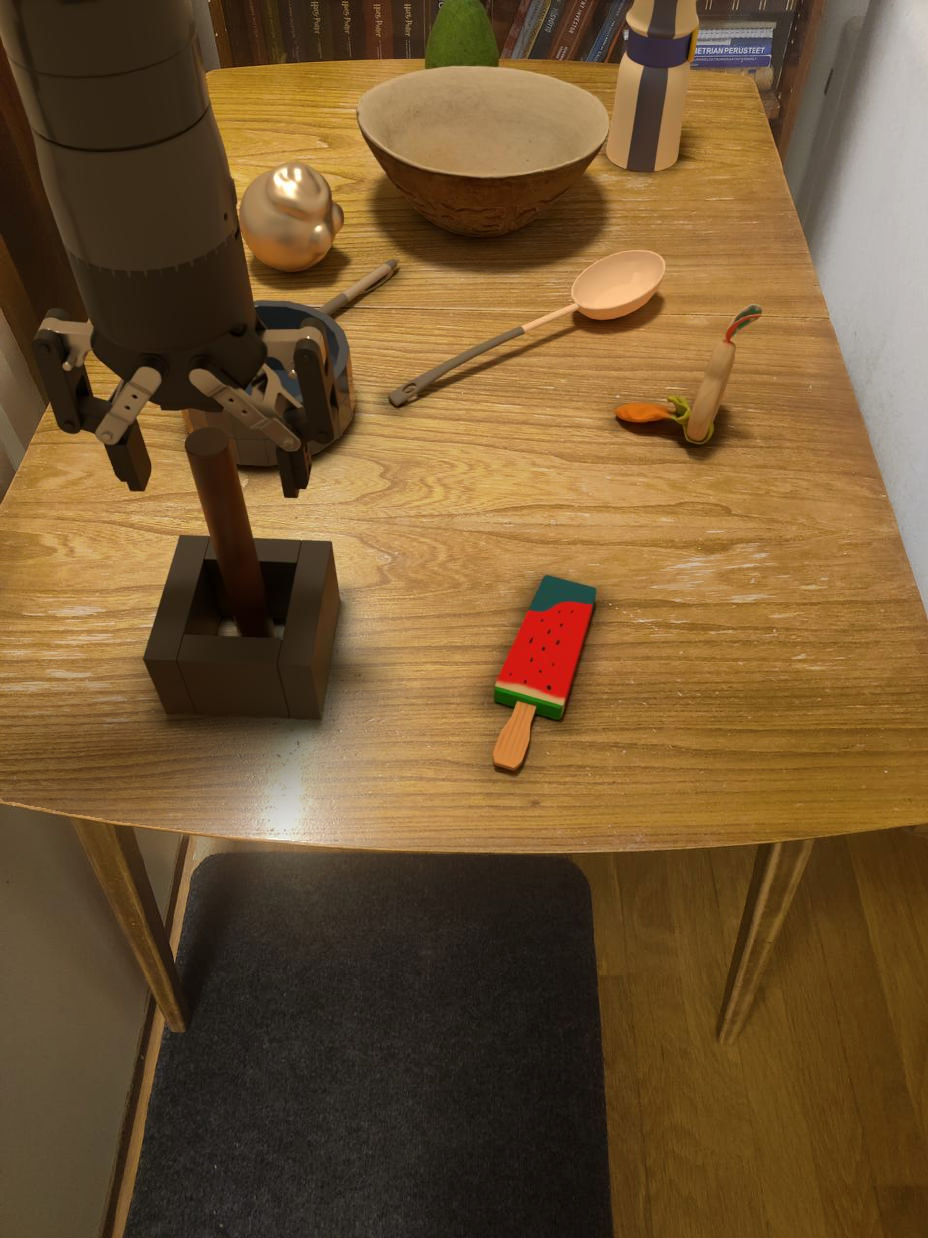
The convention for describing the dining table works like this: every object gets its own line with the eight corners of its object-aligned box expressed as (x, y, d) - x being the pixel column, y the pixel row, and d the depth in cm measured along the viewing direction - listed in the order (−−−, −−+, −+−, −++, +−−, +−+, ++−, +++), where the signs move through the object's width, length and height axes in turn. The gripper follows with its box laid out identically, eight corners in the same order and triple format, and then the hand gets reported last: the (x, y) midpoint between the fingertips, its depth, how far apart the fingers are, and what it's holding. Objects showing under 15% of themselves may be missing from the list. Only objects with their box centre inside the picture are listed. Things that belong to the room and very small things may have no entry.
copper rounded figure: (277, 305, 91) (260, 201, 83) (231, 255, 95) (211, 152, 87) (363, 274, 94) (355, 170, 86) (315, 227, 98) (303, 125, 91)
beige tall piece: (659, 376, 85) (684, 254, 76) (743, 418, 82) (779, 296, 73) (608, 420, 81) (627, 298, 72) (694, 466, 78) (725, 345, 69)
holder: (165, 713, 64) (142, 659, 59) (198, 592, 70) (179, 534, 65) (321, 720, 64) (310, 666, 59) (340, 598, 70) (332, 540, 65)
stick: (238, 655, 67) (179, 455, 53) (245, 626, 68) (189, 425, 54) (274, 657, 67) (225, 457, 53) (279, 628, 68) (233, 426, 54)
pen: (402, 270, 94) (401, 256, 93) (301, 343, 87) (299, 329, 86) (394, 266, 95) (393, 252, 93) (292, 338, 88) (290, 325, 87)
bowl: (489, 126, 111) (491, 28, 103) (648, 215, 100) (664, 114, 92) (316, 199, 102) (305, 99, 94) (471, 307, 91) (473, 203, 83)
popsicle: (468, 749, 61) (539, 572, 70) (468, 761, 62) (538, 585, 71) (540, 771, 60) (603, 588, 69) (539, 783, 61) (600, 602, 70)
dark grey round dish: (169, 468, 78) (151, 408, 73) (205, 357, 86) (190, 297, 81) (344, 474, 77) (337, 414, 73) (363, 363, 86) (357, 302, 81)
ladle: (680, 300, 90) (684, 257, 86) (418, 456, 84) (409, 417, 80) (637, 265, 93) (639, 222, 89) (381, 413, 87) (370, 374, 83)
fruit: (466, 84, 117) (467, -32, 108) (511, 109, 114) (516, -8, 104) (412, 104, 114) (408, -13, 105) (456, 131, 110) (456, 12, 101)
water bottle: (682, 136, 110) (732, -140, 90) (680, 175, 105) (733, -108, 85) (607, 129, 111) (640, -145, 91) (602, 169, 106) (636, -114, 86)
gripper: (-47, 258, 41) (73, 529, 54) (300, 270, 41) (337, 539, 53) (12, 164, 46) (109, 434, 58) (324, 174, 45) (353, 443, 58)
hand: (218, 484), depth 56 cm, fingers open, 8 cm apart
